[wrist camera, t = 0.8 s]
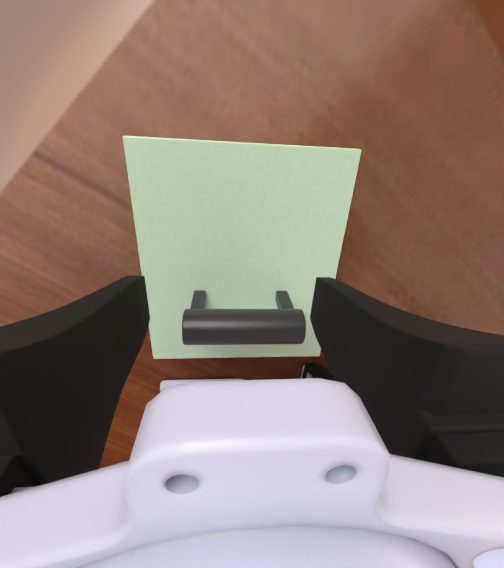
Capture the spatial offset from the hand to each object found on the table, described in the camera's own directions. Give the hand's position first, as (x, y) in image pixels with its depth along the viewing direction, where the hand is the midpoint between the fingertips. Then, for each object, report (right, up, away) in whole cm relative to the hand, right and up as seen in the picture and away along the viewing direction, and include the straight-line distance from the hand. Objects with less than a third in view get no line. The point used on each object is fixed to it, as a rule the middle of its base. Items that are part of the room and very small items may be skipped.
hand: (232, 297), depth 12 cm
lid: (0, +2, +5) cm, 6 cm away
